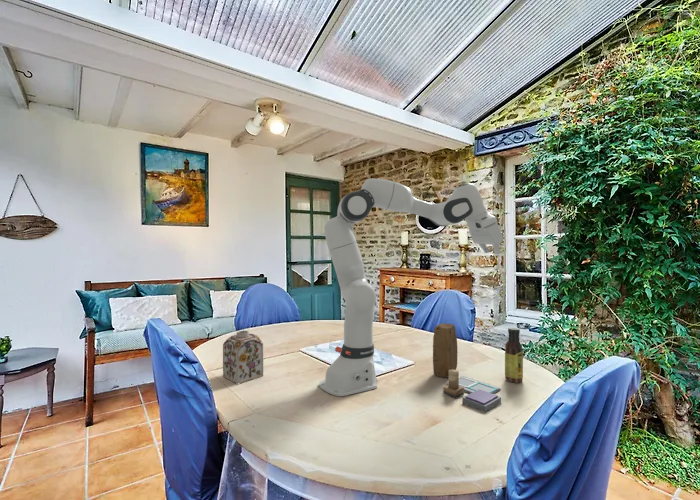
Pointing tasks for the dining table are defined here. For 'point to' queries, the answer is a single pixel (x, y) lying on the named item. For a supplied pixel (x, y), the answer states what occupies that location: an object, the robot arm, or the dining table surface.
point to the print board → (476, 385)
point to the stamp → (453, 385)
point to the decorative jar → (242, 357)
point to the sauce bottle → (513, 357)
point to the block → (444, 349)
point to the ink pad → (481, 400)
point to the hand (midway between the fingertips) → (492, 253)
